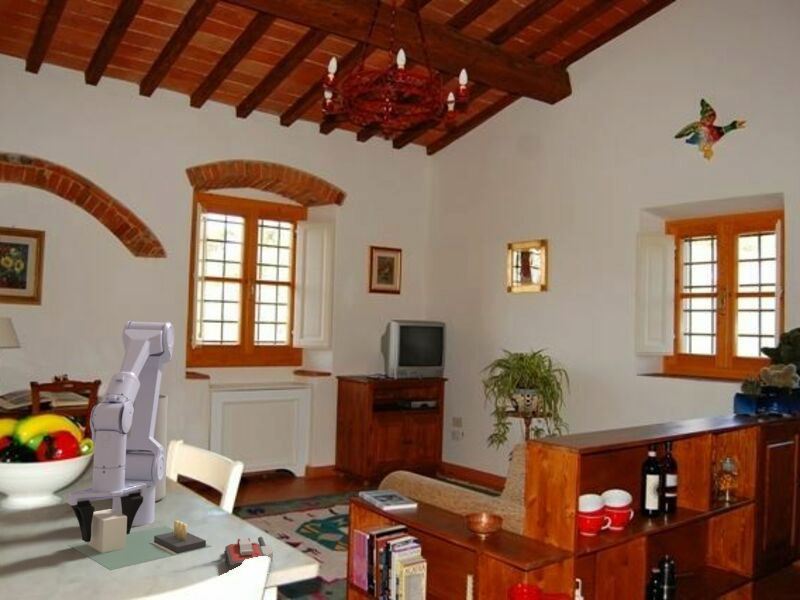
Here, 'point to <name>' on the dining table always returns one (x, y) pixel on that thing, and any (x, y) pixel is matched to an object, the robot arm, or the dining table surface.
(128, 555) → the header board
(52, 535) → the dining table surface
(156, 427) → the cylinder vase
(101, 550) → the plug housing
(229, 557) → the walkie-talkie
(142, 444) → the robot arm
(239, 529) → the dining table surface
